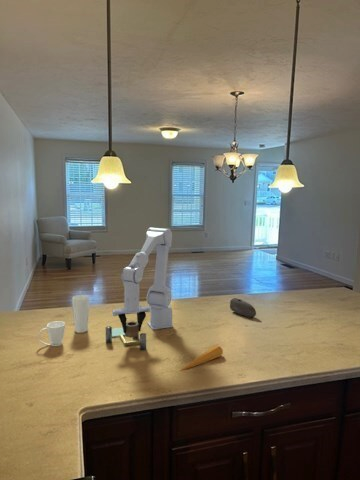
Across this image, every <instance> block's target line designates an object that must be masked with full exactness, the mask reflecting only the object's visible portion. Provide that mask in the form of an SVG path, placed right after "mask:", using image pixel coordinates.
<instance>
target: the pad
mask: <svg viewBox="0 0 360 480" xmlns="http://www.w3.org/2000/svg"><path fill="white" fill-rule="evenodd" d="M120 335H123V337H126V336H125V333H124V332H123V327H115V328H112V339H113V338H120Z"/></svg>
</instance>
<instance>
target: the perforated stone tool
mask: <svg viewBox="0 0 360 480" xmlns="http://www.w3.org/2000/svg"><path fill="white" fill-rule="evenodd" d="M229 309H230V310H231V311H232V312H234V313H236V314H238V315H241V316H243V315H244V316H245V317H246V318H247V317H248V318H254V317H255V316H256V315H257V311H256V308H255V306H253V305H252V304H251V303H248V302H246V301H245V300H242V299H241V298H236V297H235V298H234V297H233V298H232V299H231V300H230V302H229Z"/></svg>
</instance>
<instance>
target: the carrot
mask: <svg viewBox="0 0 360 480" xmlns="http://www.w3.org/2000/svg"><path fill="white" fill-rule="evenodd" d="M222 355H223V349H222V347H221V345H218V344H215V345H213V346H212V347H210V348H208V350H206V351H204V352H203V353H202V354H200V355H199V356H197V357H196V358H194V359H193V360H191V361H190V362H189V363H187V364H186V365H185V366H184V367H183V368H181V369H180V370H179V371H180V372H181V371H184V370H187V369H190V368H193V367H195V366H199V365H202V364H204V363H207V362H209V360H210V361H212V360H214V359H215V360H216V359H217V357H218V358H220V357H221V356H222ZM201 363H202V364H201Z"/></svg>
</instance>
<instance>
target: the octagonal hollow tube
mask: <svg viewBox="0 0 360 480" xmlns="http://www.w3.org/2000/svg"><path fill="white" fill-rule="evenodd" d="M138 335H139V336H140V331H139V324H138V322H137V321H134V320H133V321H126V333H125V336H124V337H125V338H132V339H133V337H137V336H138Z"/></svg>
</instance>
